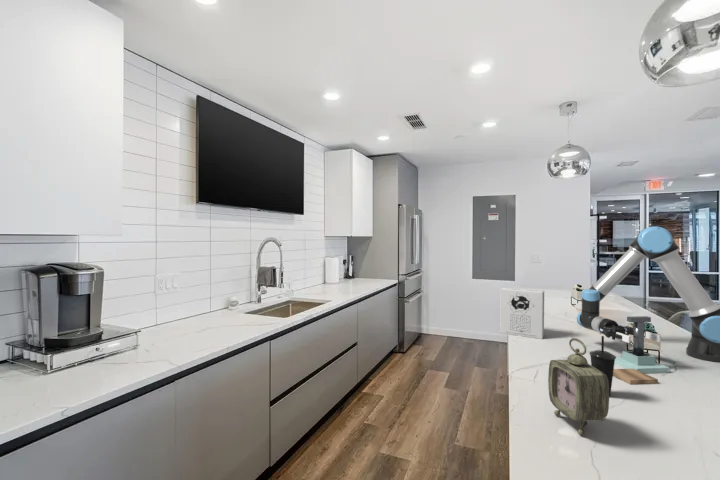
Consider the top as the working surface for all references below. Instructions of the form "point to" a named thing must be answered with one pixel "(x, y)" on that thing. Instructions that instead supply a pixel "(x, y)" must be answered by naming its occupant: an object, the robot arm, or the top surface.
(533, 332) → the cereal box
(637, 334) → the t key
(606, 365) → the drinking cup
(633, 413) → the top surface
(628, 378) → the walnut pad
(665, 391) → the top surface
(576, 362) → the tabletop clock
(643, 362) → the square socket base
